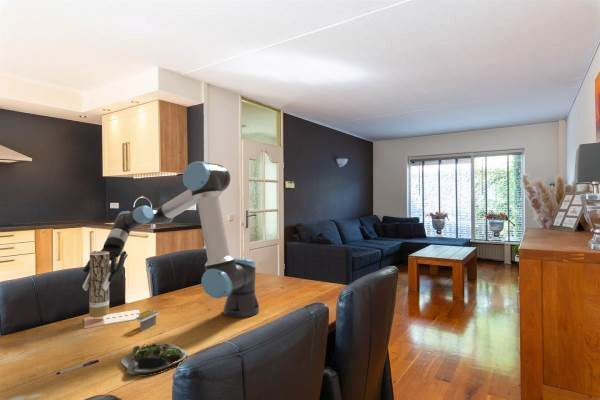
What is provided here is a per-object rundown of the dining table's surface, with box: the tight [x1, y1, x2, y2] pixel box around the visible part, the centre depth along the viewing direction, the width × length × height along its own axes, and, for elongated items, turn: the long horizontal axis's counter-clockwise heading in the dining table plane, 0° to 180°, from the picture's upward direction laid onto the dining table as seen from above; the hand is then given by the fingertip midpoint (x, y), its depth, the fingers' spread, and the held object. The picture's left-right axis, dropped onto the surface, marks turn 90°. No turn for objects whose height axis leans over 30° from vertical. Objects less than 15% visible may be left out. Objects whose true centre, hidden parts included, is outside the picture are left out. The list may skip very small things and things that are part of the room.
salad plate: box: [121, 343, 188, 376], centre depth 102 cm, size 19×18×5 cm
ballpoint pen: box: [55, 359, 100, 375], centre depth 97 cm, size 10×1×1 cm, turn 138°
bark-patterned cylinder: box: [88, 250, 111, 318], centre depth 134 cm, size 7×7×25 cm
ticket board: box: [83, 309, 141, 329], centre depth 137 cm, size 12×20×1 cm, turn 123°
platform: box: [135, 309, 160, 333], centre depth 128 cm, size 12×18×7 cm, turn 164°
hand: (94, 288), depth 131 cm, fingers closed on bark-patterned cylinder, 7 cm apart
